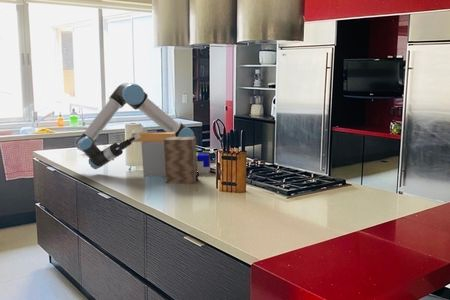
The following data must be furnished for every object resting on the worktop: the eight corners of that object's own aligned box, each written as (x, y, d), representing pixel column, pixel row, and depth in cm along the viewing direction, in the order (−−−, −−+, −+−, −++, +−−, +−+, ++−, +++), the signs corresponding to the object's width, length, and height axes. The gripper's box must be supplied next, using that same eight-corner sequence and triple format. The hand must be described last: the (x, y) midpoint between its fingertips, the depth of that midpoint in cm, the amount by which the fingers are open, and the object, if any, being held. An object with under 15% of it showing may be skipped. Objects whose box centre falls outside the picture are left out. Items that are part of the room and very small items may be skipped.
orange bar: (132, 141, 266) (131, 133, 265) (134, 140, 270) (134, 132, 269) (174, 141, 263) (173, 133, 262) (175, 140, 267) (175, 132, 266)
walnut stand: (166, 182, 250) (163, 139, 245) (170, 178, 258) (168, 136, 254) (194, 183, 248) (192, 139, 243) (197, 178, 256) (195, 136, 252)
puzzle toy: (209, 172, 270) (208, 155, 268) (191, 173, 270) (191, 155, 268) (210, 168, 280) (209, 151, 278) (193, 169, 280) (192, 152, 278)
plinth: (143, 175, 267) (141, 142, 263) (148, 172, 275) (146, 139, 272) (171, 175, 264) (169, 142, 261) (175, 172, 273) (173, 139, 270)
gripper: (124, 152, 283) (153, 134, 279) (108, 161, 259) (140, 142, 255) (117, 142, 283) (146, 124, 278) (101, 150, 259) (132, 130, 254)
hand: (143, 132), depth 266 cm, fingers open, 13 cm apart
